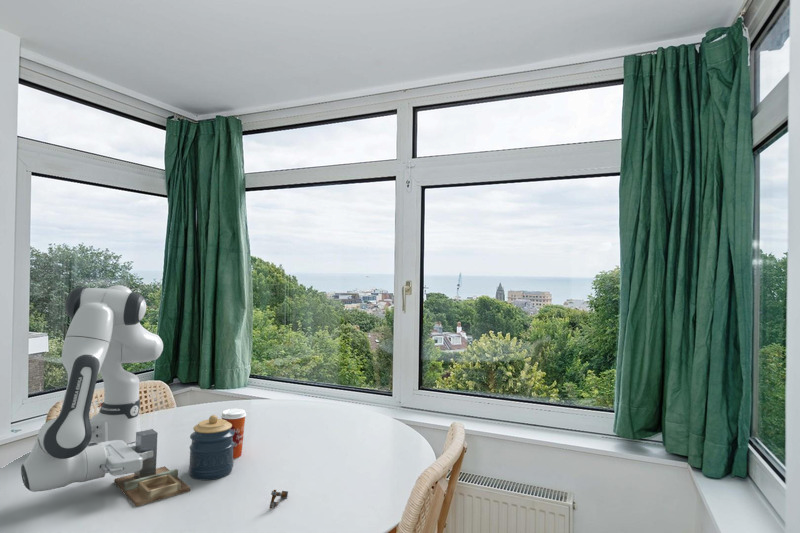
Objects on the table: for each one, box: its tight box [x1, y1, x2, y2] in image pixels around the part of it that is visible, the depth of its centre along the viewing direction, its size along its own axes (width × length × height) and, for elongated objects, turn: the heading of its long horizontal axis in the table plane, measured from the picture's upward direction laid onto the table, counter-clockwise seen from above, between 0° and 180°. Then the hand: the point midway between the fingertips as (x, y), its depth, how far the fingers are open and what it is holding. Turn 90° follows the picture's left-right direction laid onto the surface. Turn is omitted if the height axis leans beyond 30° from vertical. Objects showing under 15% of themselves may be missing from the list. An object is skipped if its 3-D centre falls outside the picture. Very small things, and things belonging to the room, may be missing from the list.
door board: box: [114, 466, 191, 507], centre depth 137 cm, size 14×20×3 cm
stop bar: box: [133, 428, 158, 479], centre depth 141 cm, size 4×4×13 cm
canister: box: [188, 414, 235, 481], centre depth 148 cm, size 13×13×18 cm
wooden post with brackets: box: [269, 489, 289, 510], centre depth 129 cm, size 2×8×4 cm, turn 166°
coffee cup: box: [220, 408, 247, 460], centre depth 162 cm, size 8×8×15 cm
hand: (149, 450), depth 142 cm, fingers closed on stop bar, 4 cm apart
